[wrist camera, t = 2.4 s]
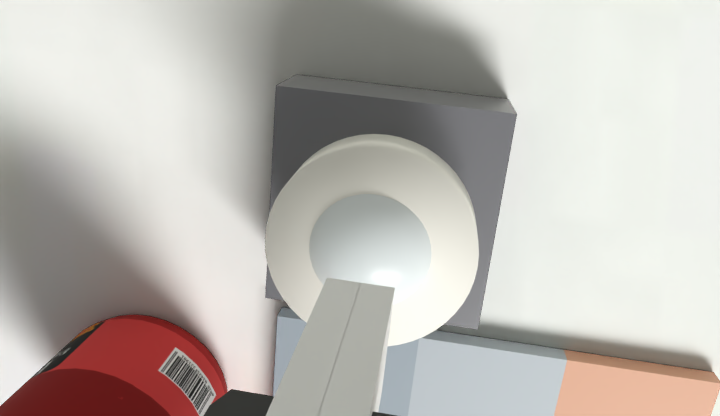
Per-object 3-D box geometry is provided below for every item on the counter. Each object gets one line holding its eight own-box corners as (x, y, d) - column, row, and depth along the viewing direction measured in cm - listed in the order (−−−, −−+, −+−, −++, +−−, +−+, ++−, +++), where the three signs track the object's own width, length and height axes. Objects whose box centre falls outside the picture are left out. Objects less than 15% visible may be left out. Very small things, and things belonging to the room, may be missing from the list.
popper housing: (284, 265, 27) (265, 297, 24) (296, 74, 24) (276, 85, 21) (474, 292, 26) (477, 329, 23) (508, 99, 23) (516, 113, 20)
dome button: (291, 273, 24) (249, 350, 19) (302, 108, 22) (258, 143, 17) (458, 298, 24) (462, 384, 18) (486, 130, 21) (499, 174, 16)
